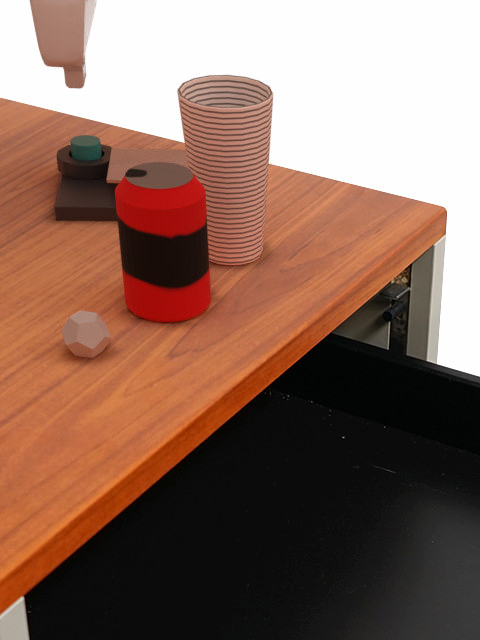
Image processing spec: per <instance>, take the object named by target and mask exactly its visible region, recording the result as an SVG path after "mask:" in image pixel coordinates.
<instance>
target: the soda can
mask: <svg viewBox="0 0 480 640" xmlns="http://www.w3.org/2000/svg"><path fill="white" fill-rule="evenodd" d="M115 198H116V209H117V220H118V221H117V230H118V239H119V240H118V241H119V250H120V261H121V270H122V271H121V272H122V273H121V274H122V283H123V293H124V302H125V305H126V307H127V309H128V310H130V312H131V313H133V314H134V315H135V316H136V317H139V318H142V319H144V320H146V321H149V322H150V321H151V322H157V323H178V322H185V321H188V320H192V319H195V318H197V317H198V316H200V315H202V314H203V313H204V312H205V311H206V310H207V309H208V307H209V306H210V304H211V303H212V292H211V272H210V270H211V269H210V261H209V249H208V229H207V210H206V191H205V188H204V186H203V185H202V184H201V183H200V182H199V180H198V179H197V178H196V177H195V176H194V175H193V173H192V171H191V170H190V169H188V168H187V167H184V166H182V165H179V164H174V163H168V162H151V163H144V164H140V165H136V166H134V167H132V168H130V169H129V170H127V172H126V174H125V176H124V177H123V179H122V180H121V181H120V183H119V184H118V185H117V187H116V189H115Z"/></svg>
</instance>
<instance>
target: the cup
mask: <svg viewBox="0 0 480 640" xmlns="http://www.w3.org/2000/svg"><path fill="white" fill-rule="evenodd" d="M176 91H177V100H178V107H179V112H180V120H181V127H182V134H183V135H182V136H183V141H184V148H185V149H184V150H186V156H187V163H188V169H190V170H191V171H192V173H193V175H194V176H195V177H196V178H197V179H198V180H199V182H200V183H201V184H202V185H203V186H204V188H205V191H206V210H207V229H208V249H209V262H211V263H214V264H217V265H224V266H241V265H247V264H251V263H253V262H255V261H256V260H259V259H260V258H261V256H262V255H263V252H264V244H265V243H264V242H265V228H266V209H267V198H268V197H267V196H268V181H269V167H270V166H269V165H270V151H271V135H272V119H273V105H274V93H273V90H272V88H271V86H269V85H267V83H265V82H263V81H261V80H259V79H255V78H251V77H248V76H242V75H233V74H208V75H204V76H199V77H198V76H197V77H193V78H191V79H189V80H186V81H184V82H182V83H181V84H180V86H178V88H177V89H176Z"/></svg>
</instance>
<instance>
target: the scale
mask: <svg viewBox="0 0 480 640" xmlns="http://www.w3.org/2000/svg"><path fill="white" fill-rule="evenodd" d="M112 148H113V147H112V146H110V145H107V144H102V143H101V152H102V157H101V158H99V159H96V160H91V161H85V160H77V159H73V158H72V154H71V145H70V144H67V145H65V146H63V147H61V148H60V149H57V152H56V156H55V157H56V165H57V171H58V172H59V173H60V174H61V177H60V182H59V187H58V190H57V195H56V199H55V203H54V214H55V220H56V221H103V222H104V221H108V222H110V221H112V222H118V220H117V209H116V198H115V189H116V187H117V185H118V184H119V183H107V181H106V179H107V173H108V167H109V161H110V155H111V149H112Z"/></svg>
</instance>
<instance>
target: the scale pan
mask: <svg viewBox="0 0 480 640" xmlns="http://www.w3.org/2000/svg"><path fill="white" fill-rule="evenodd" d="M111 148H112V149H111V155H110V161H109V167H108V173H107V179H106V181H107V183H120V181H121V180H122V179H123V177H124V176H125V174H126V172H127V170H129V169H130V168H132V167H134V166H136V165H140V164H144V163H151V162H168V163H174V164H179V165H182V166H184V167H187V168H188V163H187V156H186V149H177V148H176V149H173V148H172V149H171V148H170V149H169V148H119V147H118V148H114V147H111Z"/></svg>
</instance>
